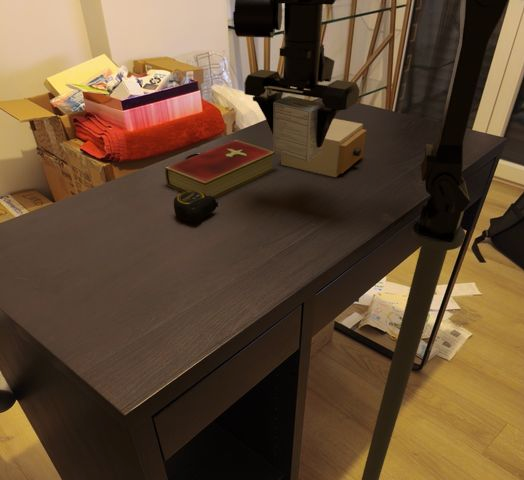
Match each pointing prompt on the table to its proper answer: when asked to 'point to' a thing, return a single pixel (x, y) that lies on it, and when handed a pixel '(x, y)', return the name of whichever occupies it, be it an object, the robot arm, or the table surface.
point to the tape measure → (193, 205)
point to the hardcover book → (220, 169)
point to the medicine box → (296, 128)
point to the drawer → (351, 150)
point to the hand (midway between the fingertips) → (297, 142)
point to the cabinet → (327, 149)
